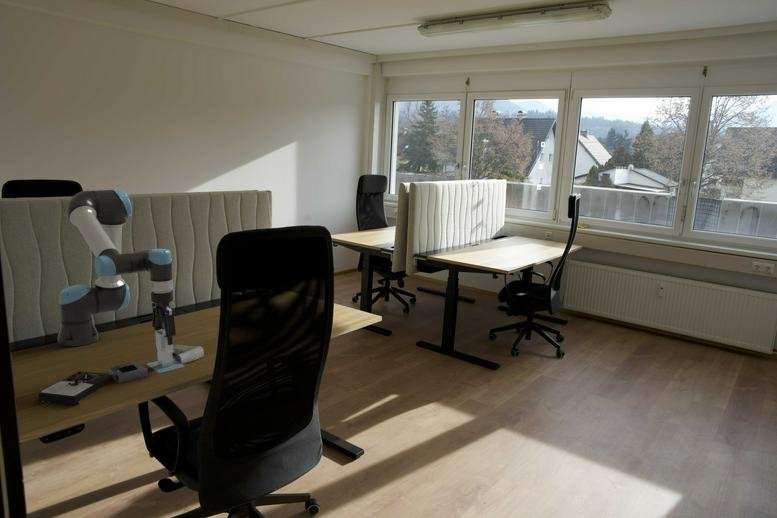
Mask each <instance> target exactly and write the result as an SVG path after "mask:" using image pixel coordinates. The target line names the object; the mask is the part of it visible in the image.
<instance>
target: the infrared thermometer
mask: <svg viewBox="0 0 777 518" xmlns="http://www.w3.org/2000/svg"><path fill="white" fill-rule="evenodd" d="M173 350H174V352H172V354H173V355H174V354H175V355H176V357H175V360H176V361H178V362H179V363H181V364H187V363H190V362H194V361H197V360H198V359H202V358H204V356H205V350H204V347H202V346H201V345H197V346H195V345H194V346H193V345H185V344H173Z"/></svg>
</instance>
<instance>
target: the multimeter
mask: <svg viewBox="0 0 777 518" xmlns="http://www.w3.org/2000/svg"><path fill="white" fill-rule="evenodd" d="M113 380H114V379H113V377H112V375H111V374H109V373H103V372H93V371H92V372H91V371H83V370H80V371H77V372H75V373H73V374H71V375H69V376H67V377H66V378H63V379H62V380H60V381H58V382H56V383H54V384H53V385H51V386H49V387H48V388H44V389H43V390H41V391H40V392H39V393H38V400H39V402H40V401H44V402H50V403H49V404H52V403H56V404H55V405H60V404H63V406H69V405H71V406H70V407H75V406H77V404H78V405H79V404H80V403H79V402H80V401H82V400H83V399H84V398H86V397H87V396H90V395H91V394H93V393H94V392H96V391H97V390H99V389H101V388H102V387H104V386H106V385H107V384H109V383H110V382H113Z"/></svg>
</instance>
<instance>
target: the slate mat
mask: <svg viewBox="0 0 777 518" xmlns="http://www.w3.org/2000/svg"><path fill="white" fill-rule="evenodd" d="M146 365H147V366H148V367H150V368H151V369H152V370H154V371H155V372H157V373H158V374H161V373H165V372H169V371H172V370H173V371H174V370H177V369H181V368H184V367H186V366H185V365H184V364H183V363H180V362H178V361H176V358H173V365H171V366H167V367H163V368H162V367H161V366H159V365H158V360H155V361H153V362H152V361H151V362H147V363H146Z"/></svg>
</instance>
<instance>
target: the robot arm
mask: <svg viewBox="0 0 777 518" xmlns="http://www.w3.org/2000/svg"><path fill="white" fill-rule="evenodd" d="M132 206H133V205H132V202H131V200H130V197H129V195H128V194H127V192H126V191H124V190H122V189H113V188H112V189H98V190H95V189H94V190H83V191H80V192H77V193H76V194H74V195H73V196H72V197H71V198H70V200H69V202H68V203H67V206H66V215H67V217H68V220H69V222H70V223H71V224H72V225H74V226H75V227H76V228H77V229H78V231H79V232H80V234H81V235H82V237H83V238H84V240H85V242H86V244H87V245H88V247H89V248H90V251H91V252H92V253H93V255H94V256H95V258H94V261H93V263H94V265H93V266H94V270H95V274H96V275H97V276H98V278H97V279H96V280H94V281H95V282H94V286H92V287H91V286H90V285H89V284H85V283H84V284H83V283H82V284H75V285H70V286H67V287H65V288H63V289H62V290H61V291H60V292H59V295H58V304H59V313H60V329H59V332H58V336H57V345H59V346H62V347H79V346H80V347H81V346H87V345H90V344H93V343H95V342H97V341H98V340H99V332H98V330H97V328H96V326H95V323H94V322H93V315H98V314H105V313H109V312H116V311H117V312H118V311H121V310H123V309H126V307H127V306H128V305H129V304H130V299H131V292H130V287H129V285H128V284H127V283H126V282H125V280H124V278H122V275H130V274H137V273H142V272H143V273H144V272H148V273H149V280H150V283H149V287H150V291H151V292H150V297H151V298H150V299H151V307H152V308H151V309H152V318H151V319H152V323H151V325H152V328H153V329H154V331H155V333H154V335H156V332H158V331H163V330H165V333H166V336H164V337H165V351H166V354H167V353H172V352H174V350H173V346H174V336H176V335H177V334H176V324H175V310H174V308H171V306H170V303H171V302H173V301H174V292H173V289H174V285H173V284H174V283H173V282H174V280H173V268H172V267H173V264H172V262H173V259H172V252H171V250H170V249H167V248H152V249H141V250H140V249H139V250H138V251H137V252H128V253H122V247H123V246H122V244H123V243H122V242H123V241H122V240H123V239H122V238H123V237H122V235H123V234H122V233H123V232H122V229H123V226H124V225H126V224H127V219H128V218H130V217H132V213H133V212H132V211H133V207H132ZM155 347H156V348H157V338H156V337H155ZM172 354H173V353H172Z"/></svg>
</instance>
